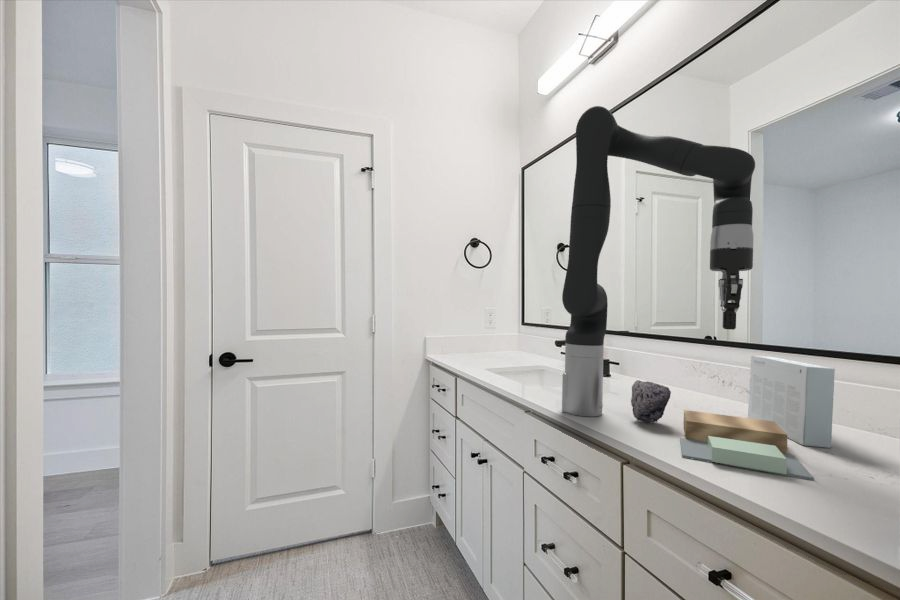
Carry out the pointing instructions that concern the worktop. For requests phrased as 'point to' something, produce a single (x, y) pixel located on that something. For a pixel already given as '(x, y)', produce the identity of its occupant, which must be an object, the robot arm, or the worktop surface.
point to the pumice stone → (649, 401)
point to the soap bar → (747, 454)
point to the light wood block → (733, 429)
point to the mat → (701, 452)
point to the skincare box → (793, 398)
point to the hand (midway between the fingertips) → (729, 329)
